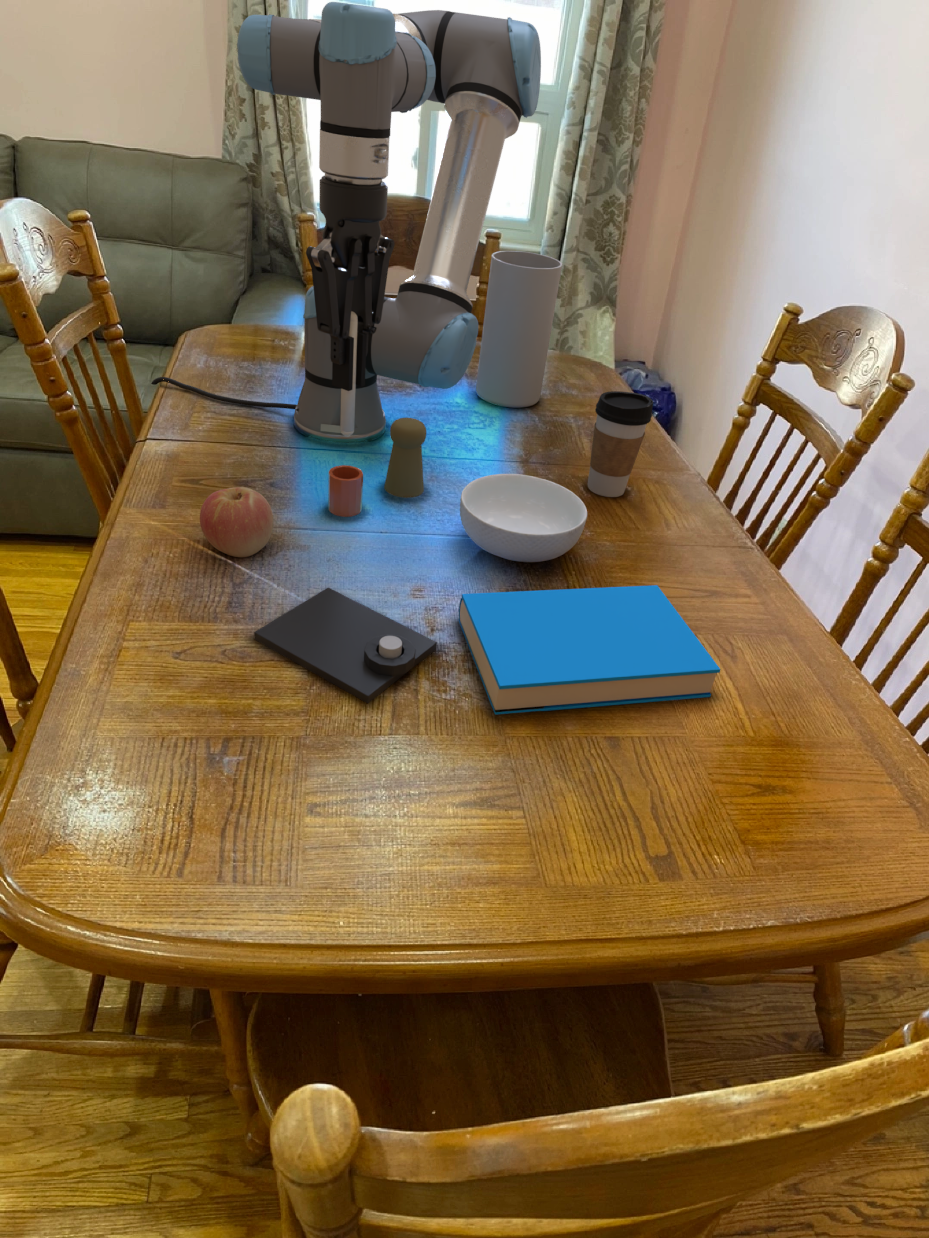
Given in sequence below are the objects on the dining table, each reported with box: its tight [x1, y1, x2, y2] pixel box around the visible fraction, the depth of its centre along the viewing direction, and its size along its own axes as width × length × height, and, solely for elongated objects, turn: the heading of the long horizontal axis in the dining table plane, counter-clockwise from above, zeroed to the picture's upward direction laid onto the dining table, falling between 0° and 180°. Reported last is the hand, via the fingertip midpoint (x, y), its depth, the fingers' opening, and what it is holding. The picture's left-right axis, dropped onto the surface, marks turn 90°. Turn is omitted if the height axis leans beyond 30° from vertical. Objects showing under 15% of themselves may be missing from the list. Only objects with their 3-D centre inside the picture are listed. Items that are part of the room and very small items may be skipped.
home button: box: [379, 636, 402, 659], centre depth 87 cm, size 2×2×1 cm
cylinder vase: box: [475, 250, 563, 409], centre depth 152 cm, size 12×12×25 cm
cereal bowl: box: [459, 473, 588, 563], centre depth 110 cm, size 17×17×7 cm
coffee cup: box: [587, 390, 654, 498], centre depth 126 cm, size 8×8×15 cm
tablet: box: [253, 587, 438, 704], centre depth 90 cm, size 17×12×2 cm
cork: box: [384, 417, 427, 499], centre depth 119 cm, size 6×6×11 cm
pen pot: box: [327, 464, 364, 518], centre depth 113 cm, size 5×5×6 cm
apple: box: [199, 486, 275, 558], centre depth 102 cm, size 9×9×8 cm
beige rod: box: [340, 311, 358, 436], centre depth 104 cm, size 2×2×16 cm
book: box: [458, 584, 721, 715], centre depth 93 cm, size 17×4×25 cm
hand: (348, 385), depth 104 cm, fingers closed on beige rod, 2 cm apart
